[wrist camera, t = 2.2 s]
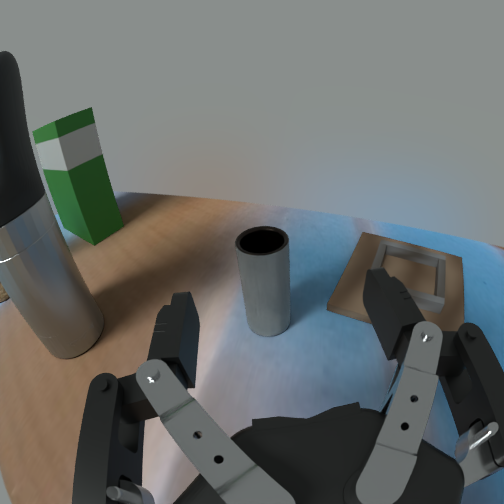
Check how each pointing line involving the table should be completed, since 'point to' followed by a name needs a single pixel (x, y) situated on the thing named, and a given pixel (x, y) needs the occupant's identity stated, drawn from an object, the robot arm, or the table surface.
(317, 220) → the table surface
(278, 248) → the grey cylinder
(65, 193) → the hardback book
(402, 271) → the base
